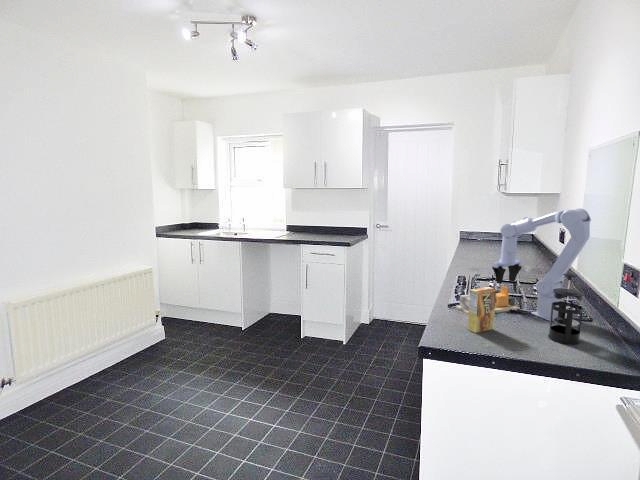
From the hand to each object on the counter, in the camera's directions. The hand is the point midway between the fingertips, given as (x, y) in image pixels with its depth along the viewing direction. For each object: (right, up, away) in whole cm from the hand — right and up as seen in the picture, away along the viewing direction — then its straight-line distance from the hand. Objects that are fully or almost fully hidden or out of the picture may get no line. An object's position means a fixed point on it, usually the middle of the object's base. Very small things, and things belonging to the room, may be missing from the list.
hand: (505, 282), depth 173 cm
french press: (+4, -16, -35) cm, 39 cm away
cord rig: (-10, -11, -4) cm, 15 cm away
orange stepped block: (-4, -9, -3) cm, 10 cm away
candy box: (-22, -15, -27) cm, 38 cm away
